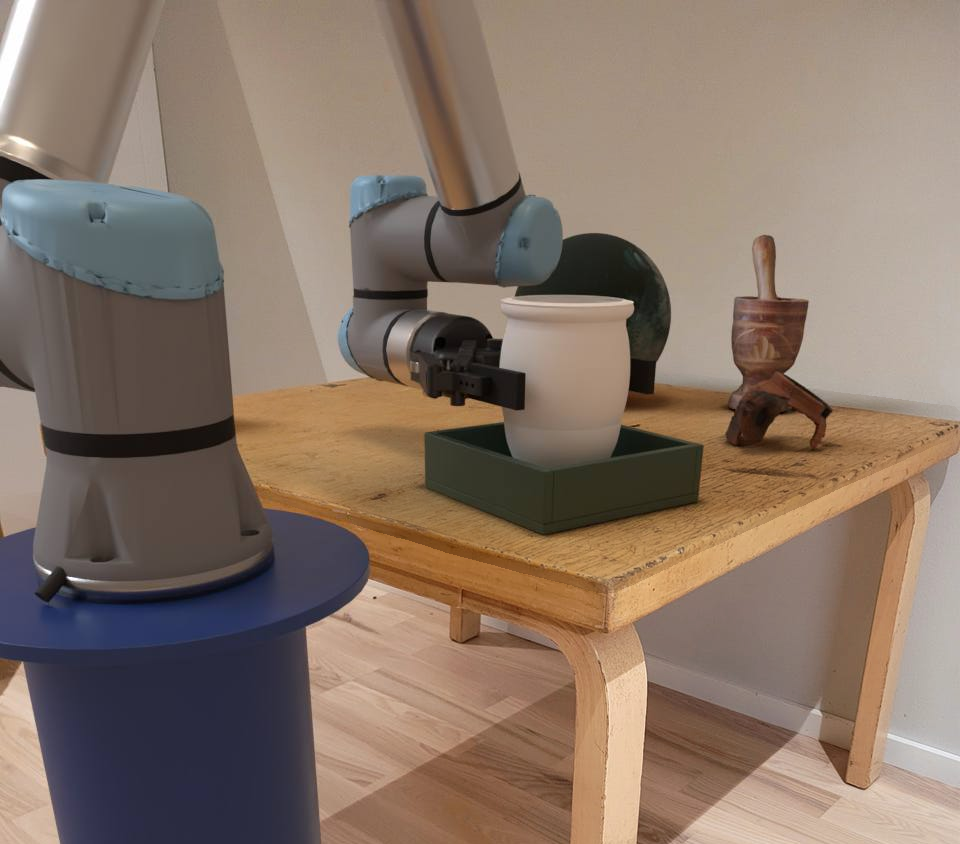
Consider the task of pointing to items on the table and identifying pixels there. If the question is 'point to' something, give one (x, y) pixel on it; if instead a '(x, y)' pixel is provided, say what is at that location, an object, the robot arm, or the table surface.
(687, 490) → the bin
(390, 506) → the table surface
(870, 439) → the table surface
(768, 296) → the mortar and pestle
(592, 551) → the table surface
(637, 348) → the decorative sphere
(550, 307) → the jar
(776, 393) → the brown arched piece
